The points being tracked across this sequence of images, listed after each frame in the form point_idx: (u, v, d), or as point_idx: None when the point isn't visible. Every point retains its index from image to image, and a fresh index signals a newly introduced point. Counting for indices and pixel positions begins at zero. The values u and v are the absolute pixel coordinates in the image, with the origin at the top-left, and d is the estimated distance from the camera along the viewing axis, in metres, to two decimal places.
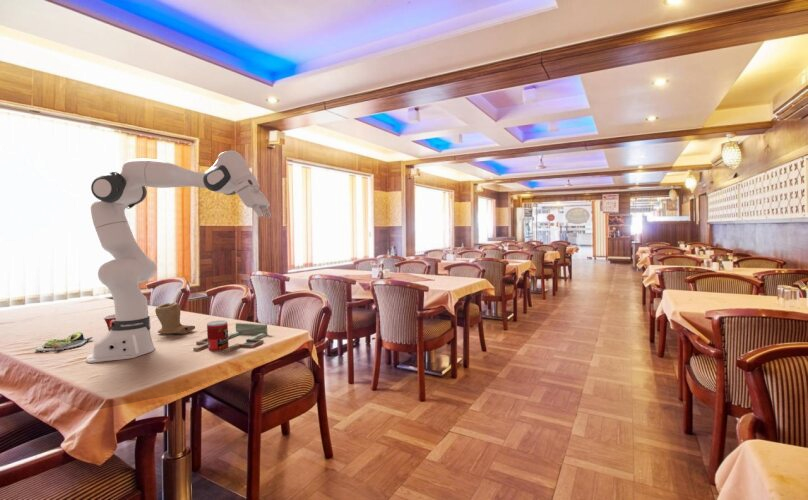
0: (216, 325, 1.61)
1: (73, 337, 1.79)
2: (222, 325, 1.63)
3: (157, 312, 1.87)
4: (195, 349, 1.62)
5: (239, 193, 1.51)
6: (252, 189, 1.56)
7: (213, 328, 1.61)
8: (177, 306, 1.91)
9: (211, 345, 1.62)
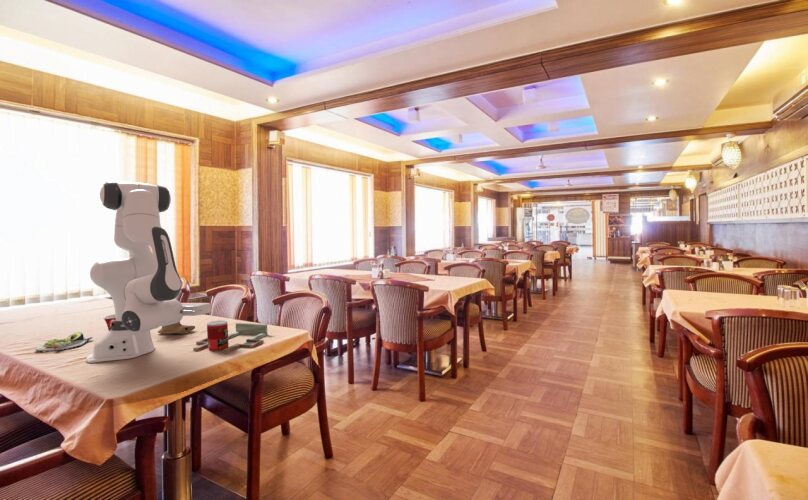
0: (216, 325, 1.61)
1: (73, 337, 1.79)
2: (222, 325, 1.63)
3: None
4: (195, 349, 1.62)
5: None
6: None
7: (213, 328, 1.61)
8: None
9: (211, 345, 1.62)
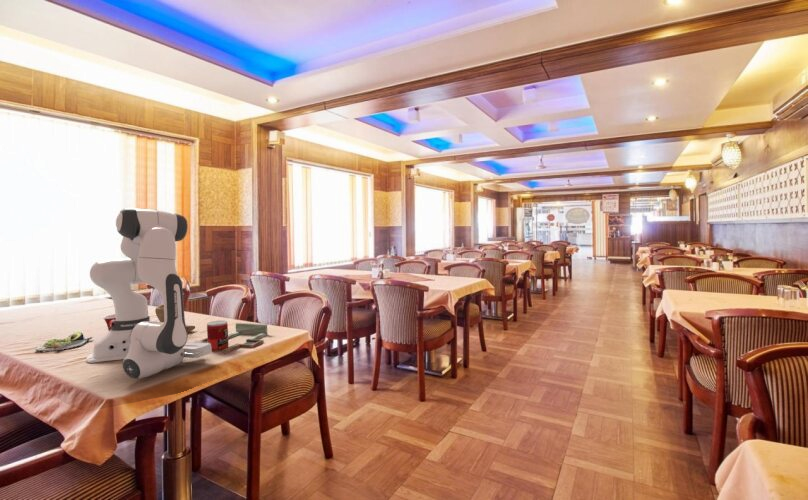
0: (216, 325, 1.61)
1: (73, 337, 1.79)
2: (222, 325, 1.63)
3: (157, 312, 1.87)
4: None
5: None
6: None
7: (213, 328, 1.61)
8: None
9: (211, 345, 1.62)
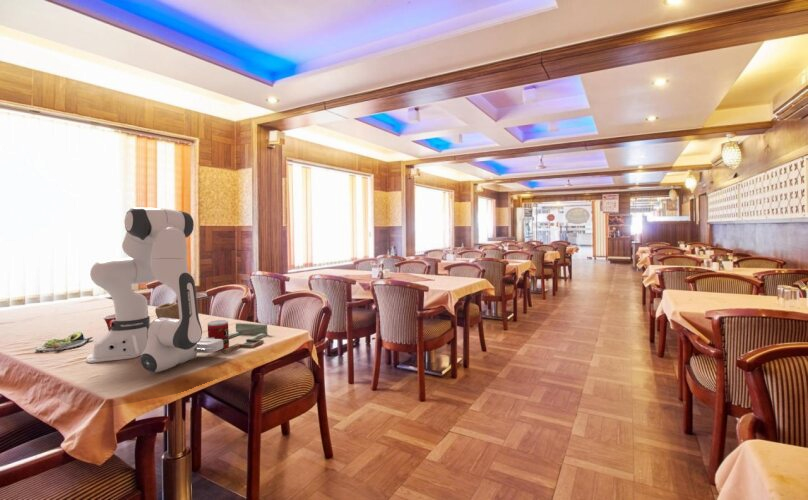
0: (217, 325, 1.62)
1: (73, 337, 1.79)
2: (223, 325, 1.63)
3: (157, 312, 1.87)
4: None
5: None
6: None
7: (214, 327, 1.61)
8: (177, 306, 1.91)
9: None
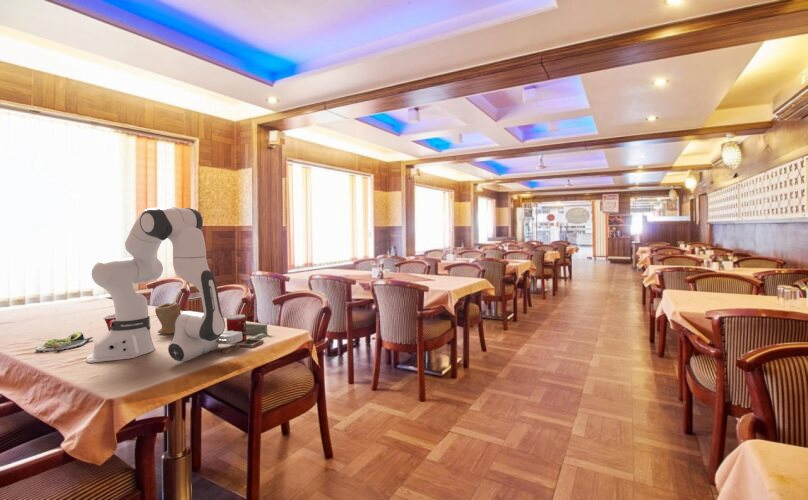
0: (236, 318, 1.73)
1: (73, 337, 1.79)
2: (241, 318, 1.74)
3: (157, 312, 1.87)
4: None
5: None
6: None
7: (233, 321, 1.72)
8: (177, 306, 1.91)
9: None
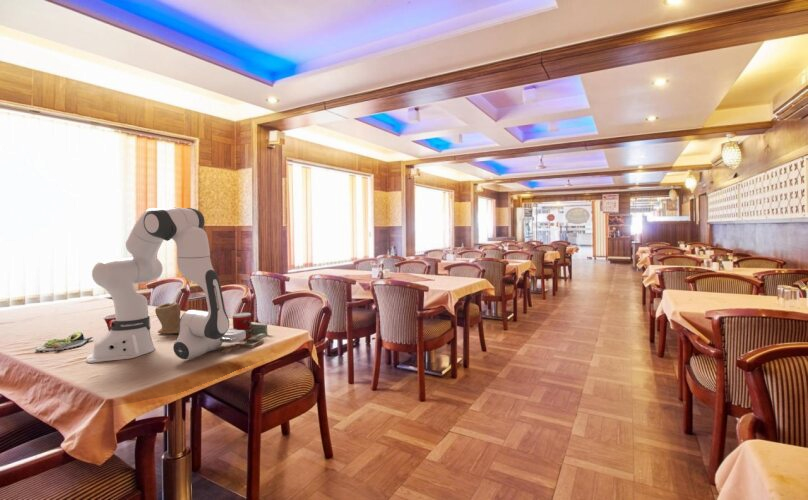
0: (242, 316, 1.76)
1: (73, 337, 1.79)
2: (247, 316, 1.78)
3: (157, 312, 1.87)
4: None
5: None
6: None
7: (239, 319, 1.76)
8: (177, 306, 1.91)
9: None
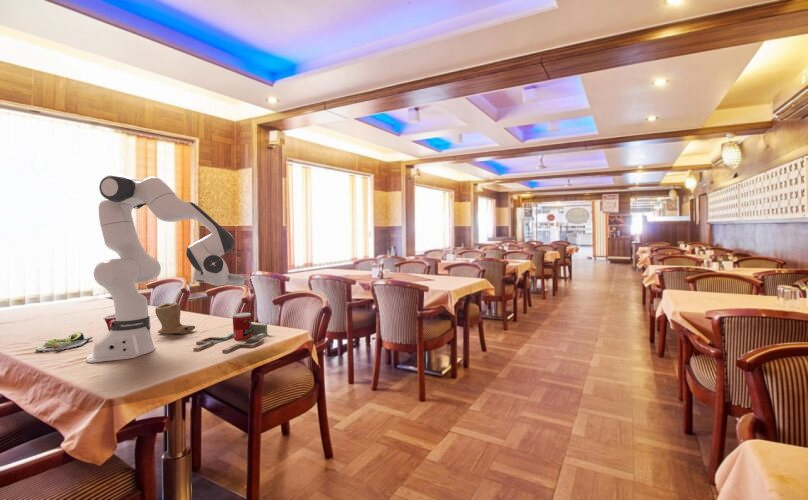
0: (242, 316, 1.76)
1: (73, 337, 1.79)
2: (247, 316, 1.78)
3: (157, 312, 1.87)
4: (195, 349, 1.62)
5: None
6: None
7: (239, 319, 1.76)
8: (177, 306, 1.91)
9: (237, 335, 1.77)
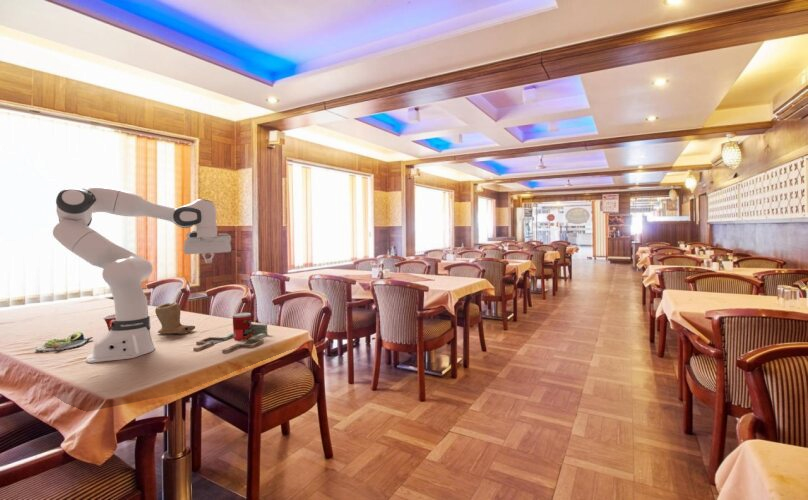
0: (242, 316, 1.76)
1: (73, 337, 1.79)
2: (247, 316, 1.78)
3: (157, 312, 1.87)
4: (195, 349, 1.62)
5: None
6: (196, 240, 1.84)
7: (239, 319, 1.76)
8: (177, 306, 1.91)
9: (237, 335, 1.77)
